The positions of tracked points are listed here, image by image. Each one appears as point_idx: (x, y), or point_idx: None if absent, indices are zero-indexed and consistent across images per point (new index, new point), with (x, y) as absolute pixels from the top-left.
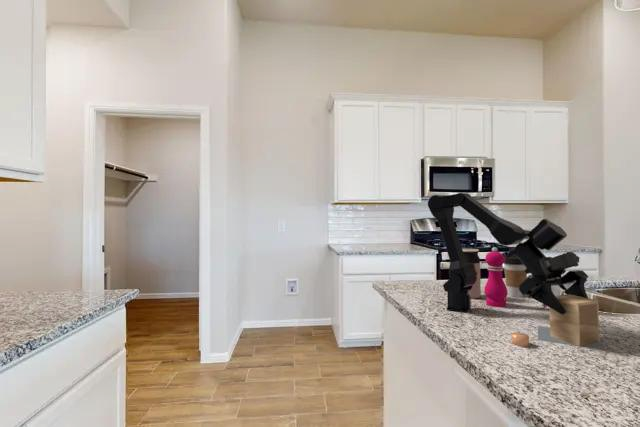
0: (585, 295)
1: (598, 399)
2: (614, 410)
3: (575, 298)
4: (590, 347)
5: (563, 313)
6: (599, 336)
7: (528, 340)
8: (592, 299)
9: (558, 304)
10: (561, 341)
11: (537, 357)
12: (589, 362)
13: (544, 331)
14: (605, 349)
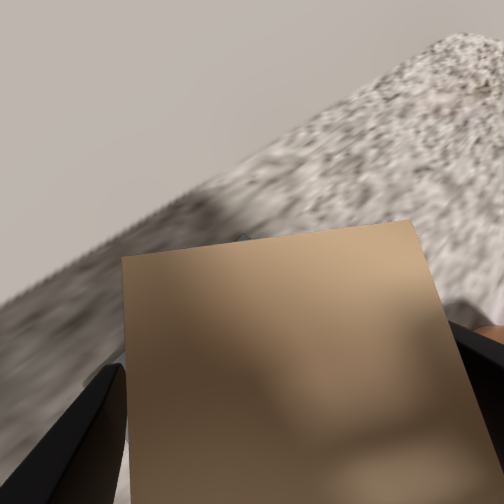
0: (19, 501)
1: (467, 77)
2: (465, 51)
3: (279, 398)
4: None
5: None
6: (115, 362)
7: (499, 330)
8: (136, 306)
9: (492, 341)
10: None
11: (484, 254)
12: (359, 193)
13: None
14: (238, 240)
